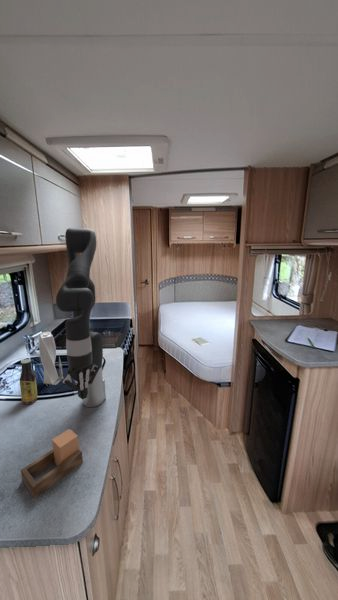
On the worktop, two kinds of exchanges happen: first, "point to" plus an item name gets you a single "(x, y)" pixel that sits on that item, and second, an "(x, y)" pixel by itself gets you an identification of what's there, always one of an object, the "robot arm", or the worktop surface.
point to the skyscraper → (49, 359)
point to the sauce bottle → (28, 383)
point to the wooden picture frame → (53, 475)
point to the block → (65, 446)
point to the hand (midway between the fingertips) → (83, 397)
